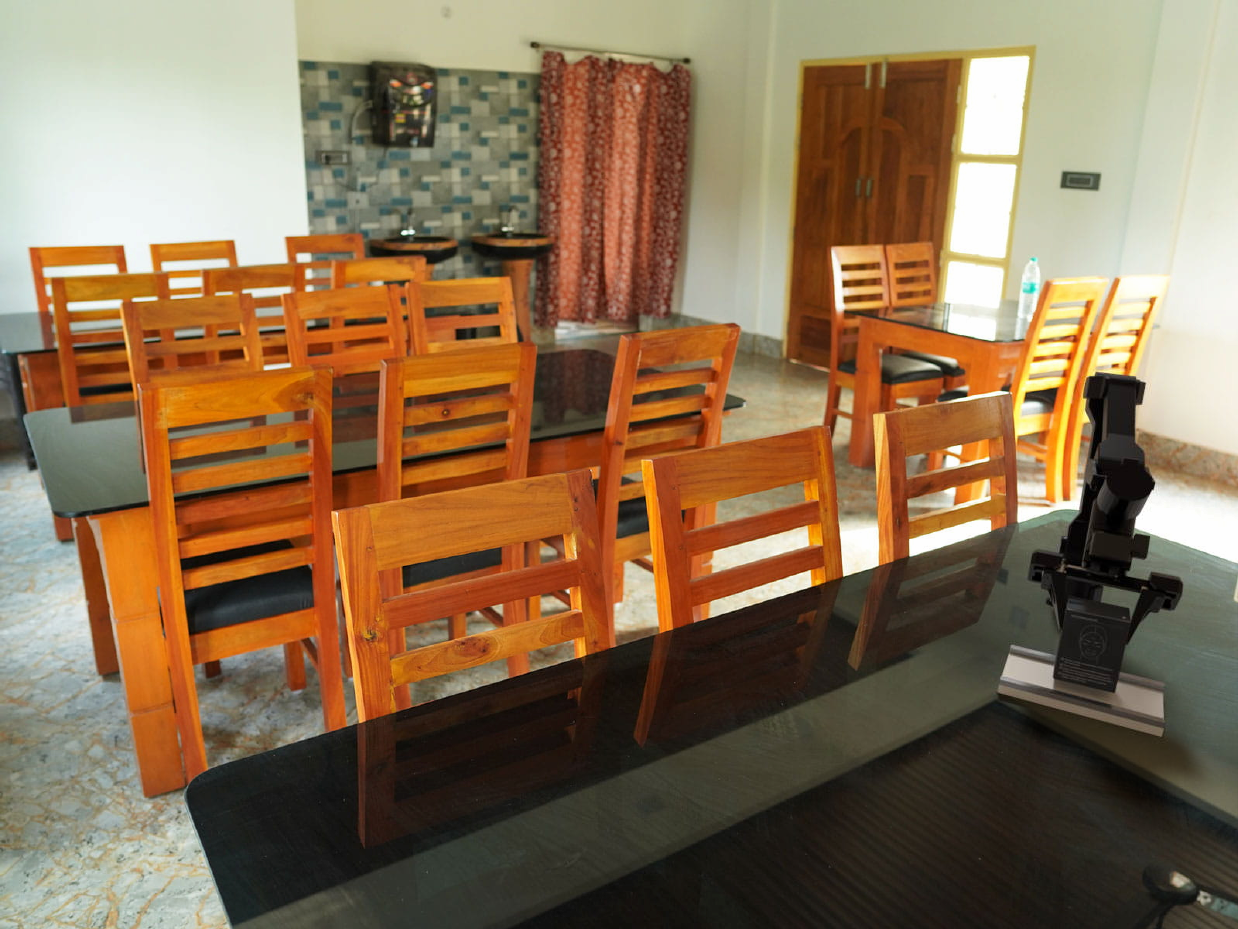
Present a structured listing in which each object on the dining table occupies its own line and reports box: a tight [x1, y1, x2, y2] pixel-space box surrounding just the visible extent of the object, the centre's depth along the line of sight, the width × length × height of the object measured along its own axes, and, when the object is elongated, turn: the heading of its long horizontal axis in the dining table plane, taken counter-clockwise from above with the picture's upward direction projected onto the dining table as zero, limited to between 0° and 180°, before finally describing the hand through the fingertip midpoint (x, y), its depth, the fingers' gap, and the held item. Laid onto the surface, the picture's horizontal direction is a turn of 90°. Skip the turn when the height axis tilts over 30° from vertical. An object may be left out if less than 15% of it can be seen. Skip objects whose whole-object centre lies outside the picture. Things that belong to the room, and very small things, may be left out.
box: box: [1053, 596, 1131, 693], centre depth 135 cm, size 8×6×11 cm
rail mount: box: [997, 644, 1166, 738], centre depth 137 cm, size 20×12×2 cm, turn 63°
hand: (1093, 636), depth 133 cm, fingers closed on box, 8 cm apart
